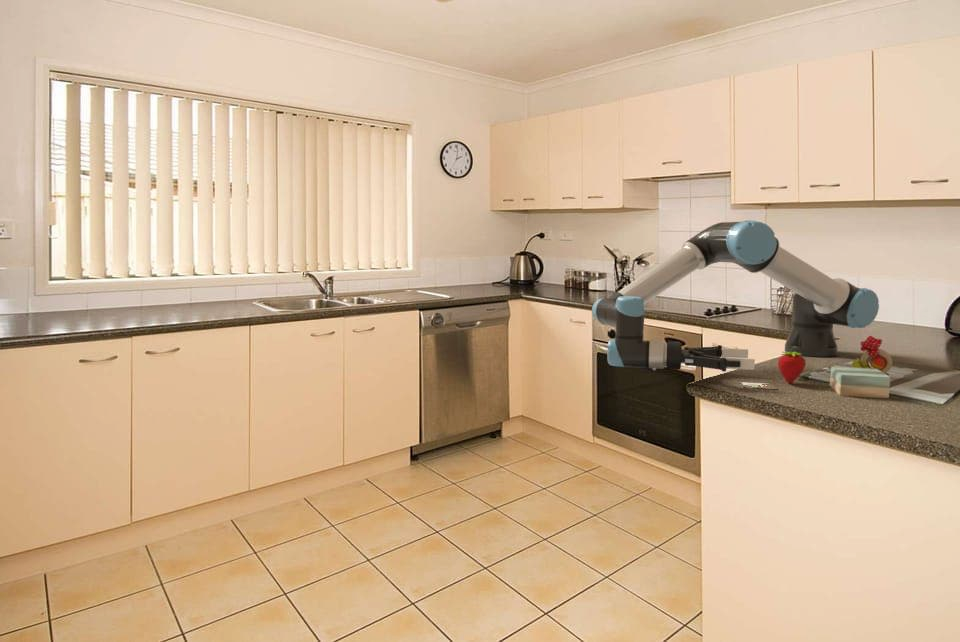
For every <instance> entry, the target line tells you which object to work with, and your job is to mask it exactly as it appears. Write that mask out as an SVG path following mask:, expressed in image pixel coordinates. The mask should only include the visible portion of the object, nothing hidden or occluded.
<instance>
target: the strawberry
mask: <svg viewBox="0 0 960 642" xmlns="http://www.w3.org/2000/svg"><path fill="white" fill-rule="evenodd" d="M794 347H795V346H794ZM794 347H793V348H794ZM793 348H792V349H793ZM790 351H791V350H790ZM800 354H802V353H797V352H786V351H782V354H781V353H780V355H781V356H780V358H778V361H777V365H778V366H777V367H778V370H779V372H780V374H781V375H782V377H783V378H784V380H785V381H786V382H787V384H790V385H791V384H793V382H794V381H796V379H797V378H798V377H799V376H800V375H801V374H802V373H803V372H804V369H805V367H806V359H805V358H804V357H803V355H800Z"/></svg>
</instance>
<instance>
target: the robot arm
mask: <svg viewBox="0 0 960 642" xmlns="http://www.w3.org/2000/svg"><path fill="white" fill-rule="evenodd" d="M717 263H733V264H735V265H737V266H739V267H741V268H743V269H745V270H746V271H747V272H750V273H753V274H758V273H762V274H764V275H765V276H767V277H769V278H771V279H772V280H773V281H775V282H777V283H779V284H781V285H782V286H784V287H785V288H787V289H789V290H791V292H793V294H792V296H793V297H792V298H793V299H792V320H791V323H792V324H791V329H790V331H789V334H788V336H787V339H786V341H785V343H784V352H797V353H802V354H800V355H802V356H806V357H823V358H824V357H835V356H837V355H838V349H839V348H838V344H837V341H836V338H835V334H834V333H835V332H834V325H837V326H842V327H849V328H851V329H857V328H858V329H861V328H862V329H863V328H866V327H868V326H870V325H872V323H873V322H874V321H875V319H876V317H877V315H878V314H879V308H880V304H879V303H880V302H879V297H878V295H877V293H876V292H874V291H873V290H872V289H868V288H866V287H864V288H860V287H857V286H855V285H854V284H852V283H850V282H849V281H847V280H845V279H843V278H838V277H837V278H831V277H830V276H828V275H826V274H825V273H824V272H822V271H820V270H818V269H817V268H815V267H814V266H812V265H811V264H809V263H807V262H806V261H804V260H802V259H801V258H799V257H797V256H795V255H794V254H792V253H791V252H790V251H788V250H786V249H784V248H782V247H781V246H780V241H779V239H778V238H777V237H776V236H775V232H774V230H773V229H772V227H770V226H769V225H768V224H766V223H764V222H762V221H757V220H744V221H728V222H727V221H724V222H723V221H722V222H717V223H716V224H712V225H710V226H708V227H706V228H705V229H703V230H702V231H699V233H697V234H695V235H694V236H692V237H691V238H689V239H688V240H686V241H685V242H683V243H682V245H681V249H679V250H678V251H676V252H675V253H673V254H671V255H670V256H668V257H667V258H665V259H664V260H663V261H662V262H660V263H659V264H657V265H655V266H654V267H652V268H650V270H648V271H647V272H645V273H643V274H642V275H640V276H639V277H638V278H636V279H634V280H633V281H632V282H630V283H628V284H627V285H626V286H623V288H622V289H619V290H618V291H617V292H615V293H613V294H612V295H610V296H609V297H604V298H598V299H597V300H596V301H595V302H594V303H593V305H592V307H591V314H592V317H593V318H594V320H595V321H596V322H598V323H600V324H601V325H605V326H610V327H614V328H615V336H614V337H615V338H612V339H609V340H608V342H607V350H606V351H607V354H606V356H607V363H608V365H609V366H611V367H612V366H613V367H622V368H640V369H652V370H653V371H657V369H658V370H659V369H661V370H663V369H664V368H666V369H667V370H676V371H677V370H678V371H679V370H681V368H682V363H684V366H686V367H689V366H691V367H699V368H706V369H712V370H719V371H721V372H727V369H730V370H731V369H732V370H749V371H750V370H754V371H755V364H756V363H755V360H756V359H755V358H749V349H748V348H730V347H729V348H728V347H725V348H724V347H723V346H722V345H721V344H720V345H719V344H718V345H716V346H700V347H699V346H698V347H687V346H685V347H684V348H683V349H682V343H681V342H680V341H667V343H666V342H665V341H664V340H644V330H645V313H646V309H645V305H646V304H647V303H648V302H650V301H651V300H653V299H654V298H656V297H657V296H659V295H661V294H662V293H663V292H665V291H667V289H669V288H671V287H673V286H674V285H675V284H676V283H678V282H680V281H681V280H682V279H684V278H686V277H687V276H688V275H690V274H692V273H693V272H695V271H696V270H699V271H700V270H701V271H702V270H704V269H705V268H707V267H708V266H710V265H712V264H717ZM794 346H795V347H794ZM793 347H794V348H793ZM792 348H793V349H792ZM790 350H791V351H790Z"/></svg>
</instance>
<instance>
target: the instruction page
mask: <svg viewBox="0 0 960 642" xmlns="http://www.w3.org/2000/svg"><path fill="white" fill-rule="evenodd" d="M741 383H742V384H743V385H748V386H752V387H758V385H760V386H761V387H763V386H764V385H762V384H764V383H760V382H746V381H745V382H740V384H741ZM742 384H741V385H742ZM765 386H767V385H765Z"/></svg>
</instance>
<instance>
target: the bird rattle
mask: <svg viewBox="0 0 960 642" xmlns="http://www.w3.org/2000/svg"><path fill="white" fill-rule="evenodd" d="M882 343H883V340H882V339H881V338H875V337H874V336H872V335H869V336H868V337H867V338H866V339H865V340H863V341H861V342H860V351H862V352H864V353H863V354H862V356H860V358H859V357H857V358H856V360H854V361H852V362H851V367H854V368H875V369H878V370H880V371H881V372H883V373H884V374H887V373H888V372H889V371H890V370H891V368H892V366H893V359H892V356H891V355H890V353H888V352H887V351H886V350H884V349H880V348H881V347H880V346H881V345H882ZM868 360H870V362H869V361H868ZM869 364H870V365H869Z"/></svg>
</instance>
